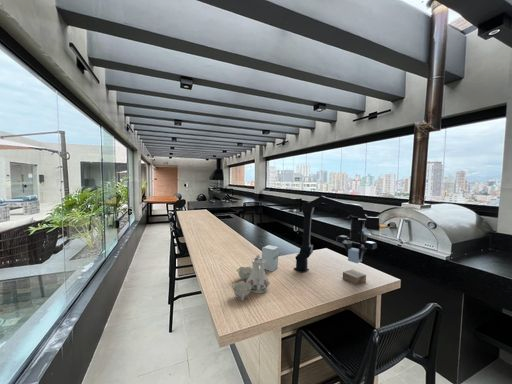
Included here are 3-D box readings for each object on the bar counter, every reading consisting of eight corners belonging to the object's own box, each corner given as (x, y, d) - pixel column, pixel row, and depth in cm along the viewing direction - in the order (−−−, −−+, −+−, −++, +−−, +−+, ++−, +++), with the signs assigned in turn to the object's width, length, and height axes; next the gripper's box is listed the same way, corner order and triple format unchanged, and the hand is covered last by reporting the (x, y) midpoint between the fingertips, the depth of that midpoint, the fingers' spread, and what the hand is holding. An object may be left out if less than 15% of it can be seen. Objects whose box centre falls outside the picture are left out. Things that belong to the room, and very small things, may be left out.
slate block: (357, 263, 109) (357, 251, 109) (347, 260, 113) (348, 249, 113) (361, 261, 113) (362, 250, 112) (352, 258, 117) (353, 247, 116)
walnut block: (356, 285, 108) (356, 277, 108) (342, 279, 115) (342, 272, 114) (365, 282, 112) (366, 274, 112) (351, 276, 119) (352, 269, 119)
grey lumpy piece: (235, 278, 114) (232, 247, 114) (266, 275, 115) (264, 245, 115) (232, 309, 86) (229, 268, 86) (274, 305, 87) (271, 264, 87)
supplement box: (272, 272, 120) (273, 249, 120) (260, 269, 124) (261, 247, 124) (278, 268, 127) (279, 246, 126) (267, 265, 130) (267, 244, 130)
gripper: (382, 230, 110) (380, 260, 111) (347, 224, 125) (345, 250, 125) (372, 232, 103) (371, 264, 104) (336, 226, 118) (335, 254, 118)
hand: (355, 258), depth 113 cm, fingers closed on slate block, 5 cm apart
